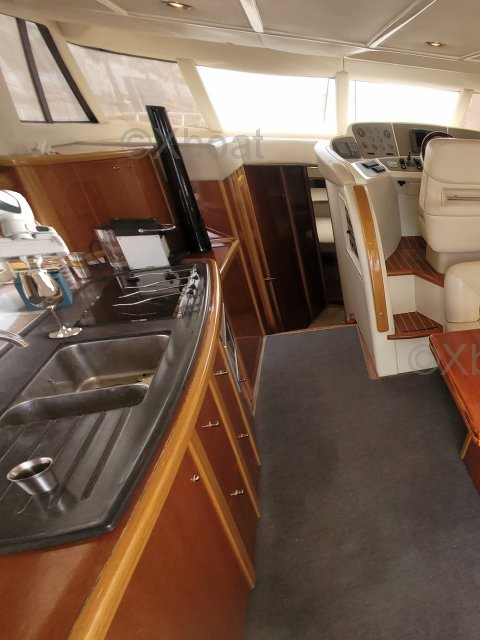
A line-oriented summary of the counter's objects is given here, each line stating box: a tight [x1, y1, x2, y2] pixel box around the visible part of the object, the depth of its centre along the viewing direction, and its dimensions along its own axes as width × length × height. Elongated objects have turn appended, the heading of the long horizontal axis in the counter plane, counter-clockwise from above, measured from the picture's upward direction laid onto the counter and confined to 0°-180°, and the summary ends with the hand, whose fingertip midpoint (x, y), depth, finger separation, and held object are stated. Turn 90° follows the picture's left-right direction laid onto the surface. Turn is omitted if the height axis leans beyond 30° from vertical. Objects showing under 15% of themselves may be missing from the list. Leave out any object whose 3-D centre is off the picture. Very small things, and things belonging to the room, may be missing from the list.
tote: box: [12, 269, 73, 312], centre depth 140 cm, size 13×11×10 cm
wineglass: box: [19, 268, 82, 339], centre depth 118 cm, size 8×8×20 cm
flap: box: [11, 266, 60, 275], centre depth 139 cm, size 6×11×1 cm, turn 132°
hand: (34, 268), depth 137 cm, fingers closed
